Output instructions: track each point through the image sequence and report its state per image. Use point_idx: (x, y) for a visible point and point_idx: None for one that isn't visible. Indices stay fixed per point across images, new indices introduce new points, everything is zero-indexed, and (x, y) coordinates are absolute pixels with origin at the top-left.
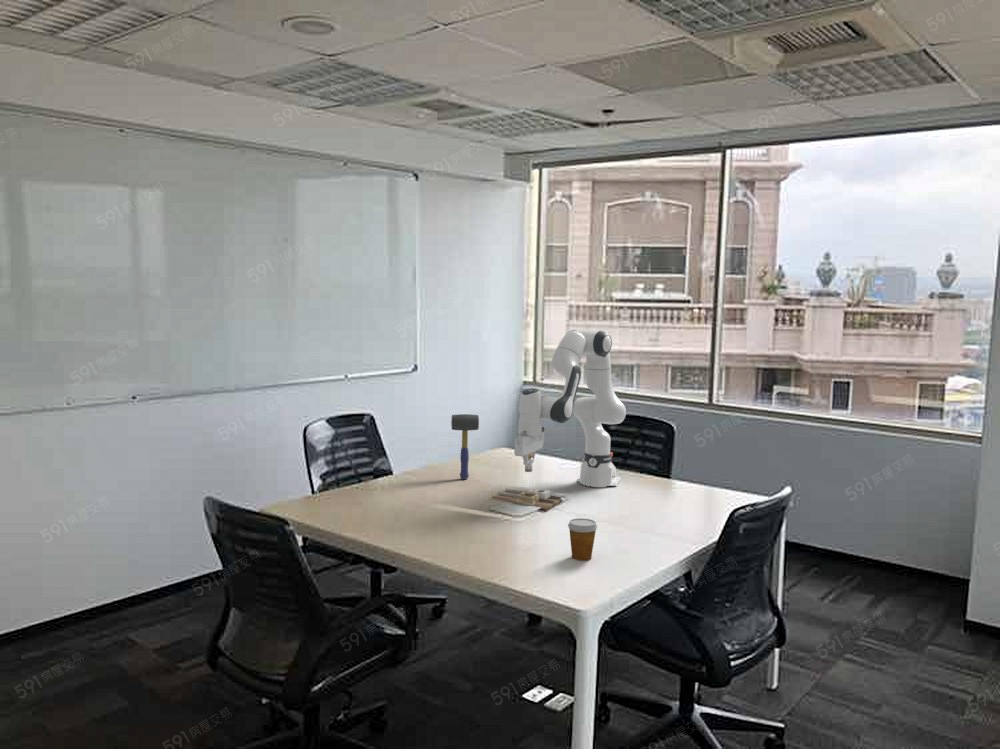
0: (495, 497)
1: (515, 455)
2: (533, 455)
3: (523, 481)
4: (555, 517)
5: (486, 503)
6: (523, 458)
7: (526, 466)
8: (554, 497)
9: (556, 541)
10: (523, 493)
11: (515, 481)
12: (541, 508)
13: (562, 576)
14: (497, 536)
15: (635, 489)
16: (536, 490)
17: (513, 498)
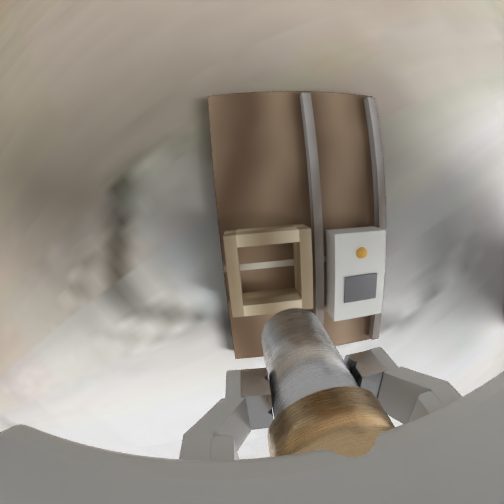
0: (248, 107)
1: (20, 427)
2: (401, 415)
3: (489, 109)
4: (200, 392)
5: (194, 104)
6: (206, 422)
7: (265, 361)
8: (372, 317)
9: (73, 428)
10: (282, 242)
11: (478, 87)
12: (233, 340)
13: None
14: (4, 330)
15: (498, 366)
16: (364, 263)
17: (283, 180)
